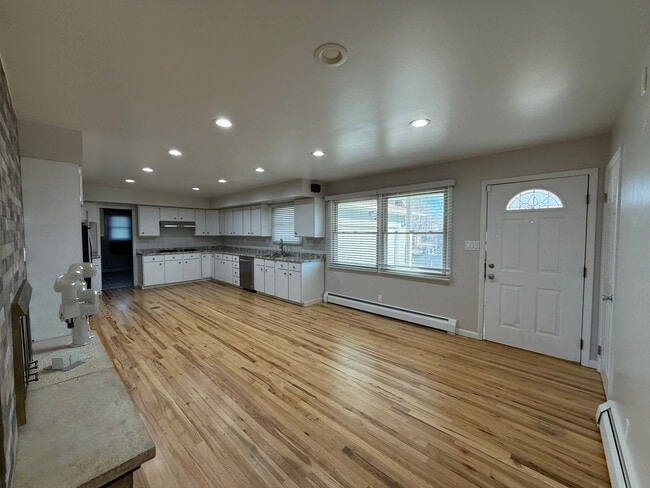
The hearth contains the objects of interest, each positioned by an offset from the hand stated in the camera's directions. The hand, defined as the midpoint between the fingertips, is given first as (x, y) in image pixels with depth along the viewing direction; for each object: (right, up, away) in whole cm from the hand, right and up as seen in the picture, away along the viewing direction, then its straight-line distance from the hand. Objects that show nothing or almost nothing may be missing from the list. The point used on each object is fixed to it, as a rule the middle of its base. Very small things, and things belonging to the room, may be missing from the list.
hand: (70, 328), depth 184 cm
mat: (+1, -23, -5) cm, 24 cm away
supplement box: (+1, -19, +2) cm, 19 cm away
